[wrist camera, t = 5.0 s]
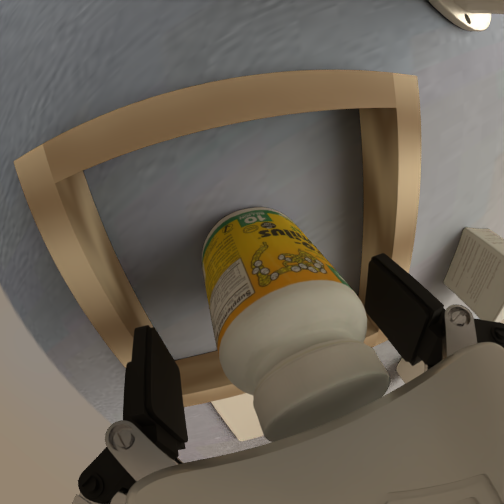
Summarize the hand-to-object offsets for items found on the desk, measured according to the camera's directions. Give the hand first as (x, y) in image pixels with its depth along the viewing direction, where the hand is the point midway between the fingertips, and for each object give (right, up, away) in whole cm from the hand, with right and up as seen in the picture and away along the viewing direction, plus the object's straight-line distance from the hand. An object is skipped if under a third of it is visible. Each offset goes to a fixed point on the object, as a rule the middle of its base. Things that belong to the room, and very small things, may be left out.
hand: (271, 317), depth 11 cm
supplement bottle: (-1, +3, +4) cm, 5 cm away
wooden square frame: (-1, +3, +4) cm, 5 cm away
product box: (+21, +3, +10) cm, 23 cm away
